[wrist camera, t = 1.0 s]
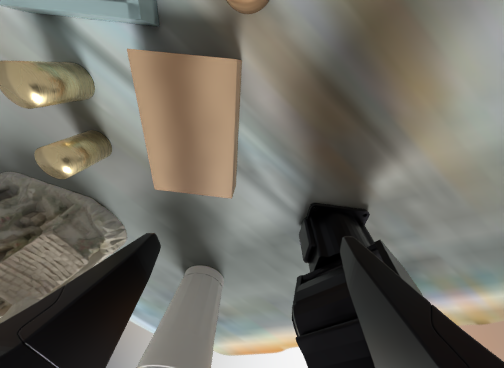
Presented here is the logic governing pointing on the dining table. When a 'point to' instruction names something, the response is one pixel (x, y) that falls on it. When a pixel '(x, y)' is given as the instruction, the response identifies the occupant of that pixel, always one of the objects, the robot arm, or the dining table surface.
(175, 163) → the board
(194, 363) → the cup
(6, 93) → the peg
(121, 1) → the tray
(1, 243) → the ceramic cottage
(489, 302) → the dining table surface
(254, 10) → the dowel
